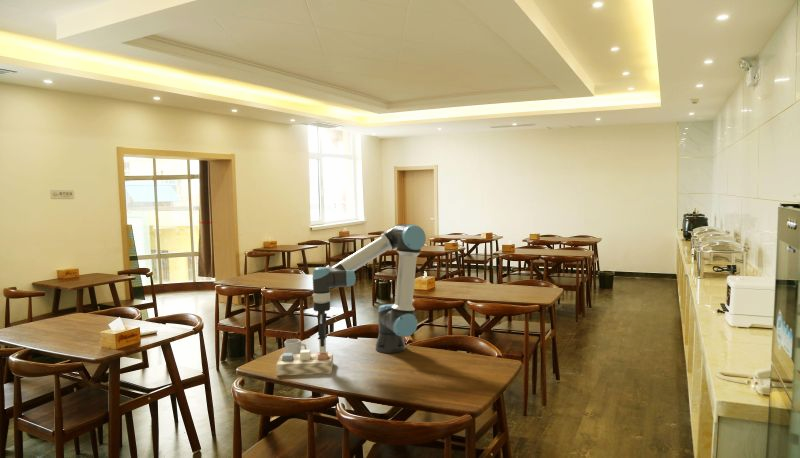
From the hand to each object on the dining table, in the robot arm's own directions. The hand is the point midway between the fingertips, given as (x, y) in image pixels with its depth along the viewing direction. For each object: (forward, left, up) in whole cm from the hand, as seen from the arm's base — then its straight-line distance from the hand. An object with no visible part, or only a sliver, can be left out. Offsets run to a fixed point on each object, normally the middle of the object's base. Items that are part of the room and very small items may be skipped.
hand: (322, 352), depth 238 cm
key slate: (+16, 0, -5) cm, 17 cm away
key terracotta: (0, 0, -5) cm, 5 cm away
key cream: (+8, 0, -4) cm, 9 cm away
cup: (+15, -19, -8) cm, 25 cm away
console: (+8, 0, -8) cm, 11 cm away
